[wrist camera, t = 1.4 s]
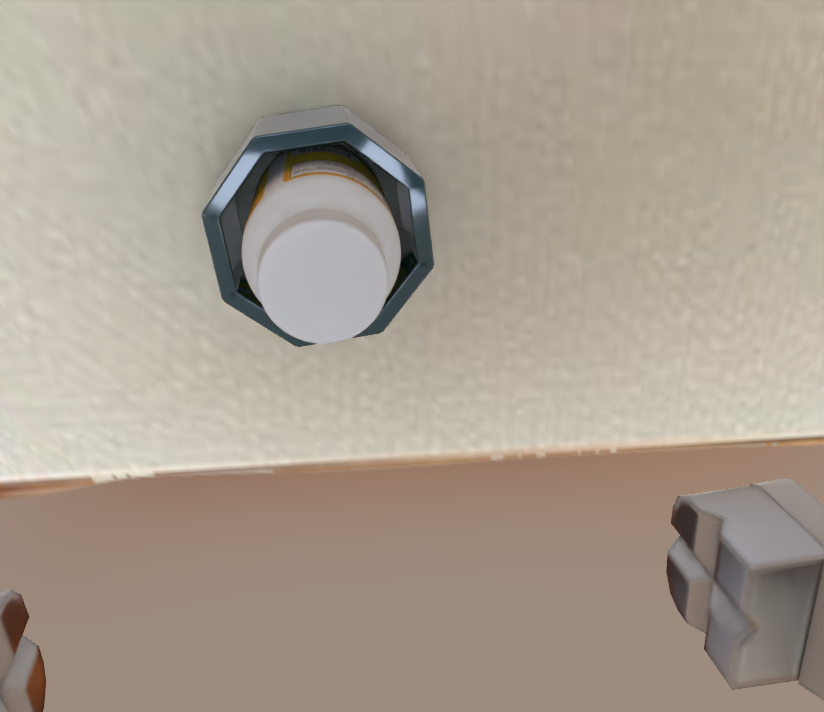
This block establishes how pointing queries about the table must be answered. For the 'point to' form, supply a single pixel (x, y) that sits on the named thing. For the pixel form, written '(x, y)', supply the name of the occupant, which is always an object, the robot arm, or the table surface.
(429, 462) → the table surface
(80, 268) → the table surface
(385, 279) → the supplement bottle
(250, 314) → the holder
